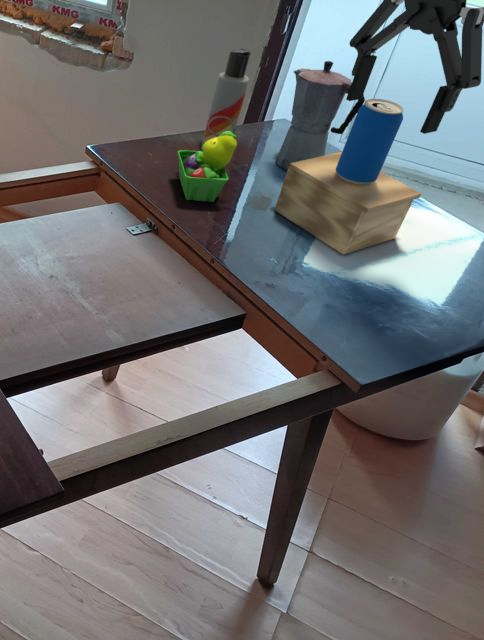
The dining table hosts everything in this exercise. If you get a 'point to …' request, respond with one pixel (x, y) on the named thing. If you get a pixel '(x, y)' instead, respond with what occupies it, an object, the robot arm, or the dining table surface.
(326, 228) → the chest
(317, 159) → the wooden lid
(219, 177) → the fruit basket
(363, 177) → the beverage can
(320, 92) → the moka pot
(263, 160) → the dining table surface
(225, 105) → the lotion bottle
